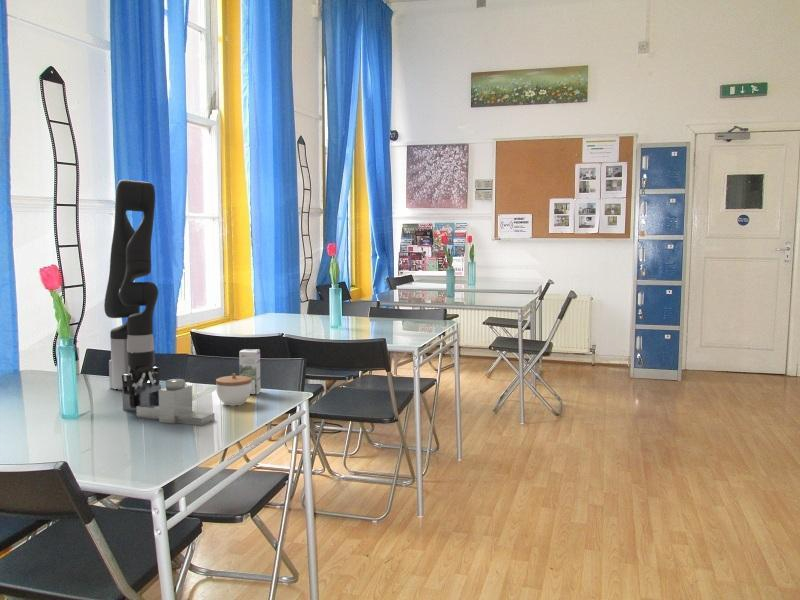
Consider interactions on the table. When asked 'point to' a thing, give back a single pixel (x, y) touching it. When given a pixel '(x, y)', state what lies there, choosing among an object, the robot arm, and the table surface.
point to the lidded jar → (233, 389)
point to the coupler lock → (143, 396)
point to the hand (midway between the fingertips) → (142, 404)
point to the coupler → (175, 406)
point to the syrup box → (251, 367)
